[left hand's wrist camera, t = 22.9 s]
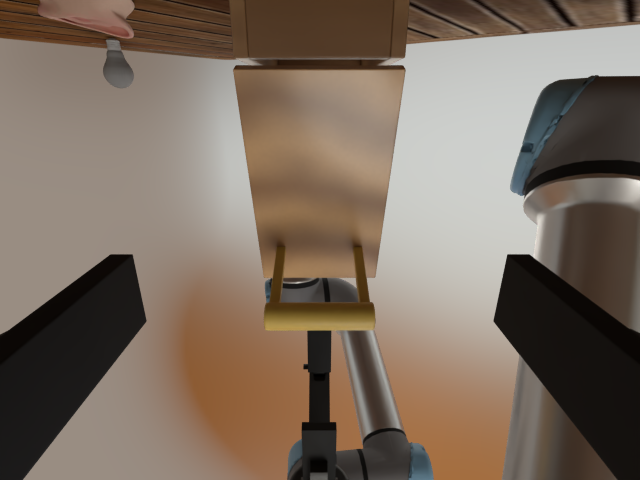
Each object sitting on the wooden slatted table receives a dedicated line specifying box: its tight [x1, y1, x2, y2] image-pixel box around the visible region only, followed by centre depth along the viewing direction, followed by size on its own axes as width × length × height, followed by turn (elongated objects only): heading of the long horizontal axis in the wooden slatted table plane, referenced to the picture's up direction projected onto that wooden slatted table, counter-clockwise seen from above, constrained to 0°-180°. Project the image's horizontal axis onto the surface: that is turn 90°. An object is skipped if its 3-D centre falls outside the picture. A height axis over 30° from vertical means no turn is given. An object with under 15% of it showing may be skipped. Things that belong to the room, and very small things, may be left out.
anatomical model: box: [38, 0, 134, 38], centre depth 46 cm, size 13×4×12 cm
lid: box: [233, 65, 406, 330], centre depth 23 cm, size 17×10×8 cm
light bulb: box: [103, 38, 134, 88], centre depth 80 cm, size 6×6×10 cm
